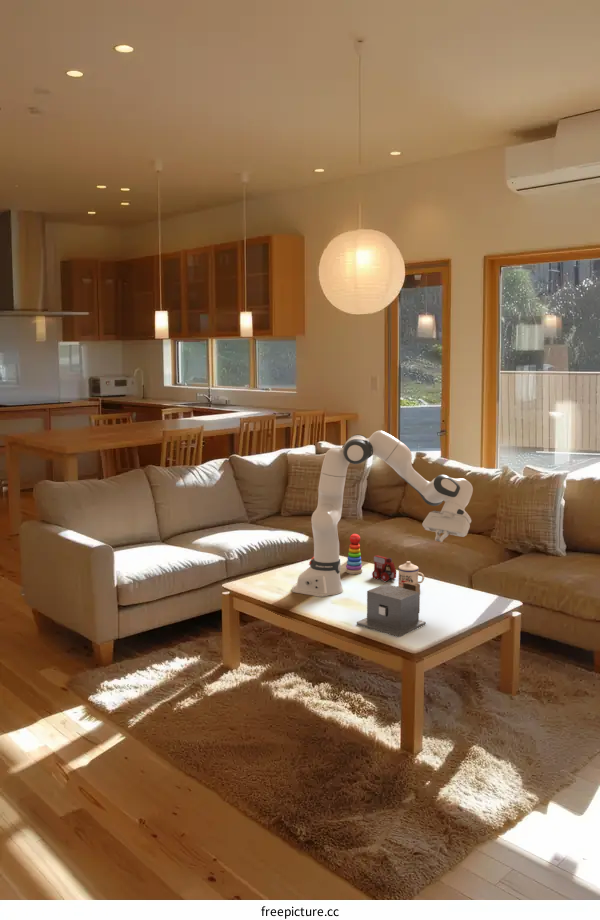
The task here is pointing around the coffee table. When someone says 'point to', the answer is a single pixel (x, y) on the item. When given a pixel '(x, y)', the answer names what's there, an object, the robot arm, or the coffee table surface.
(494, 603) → the coffee table surface
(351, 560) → the stacking toy
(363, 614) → the coffee table surface
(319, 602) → the coffee table surface
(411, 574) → the teacup with lid
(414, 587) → the shaft
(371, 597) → the bearing block
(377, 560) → the toy fire truck
